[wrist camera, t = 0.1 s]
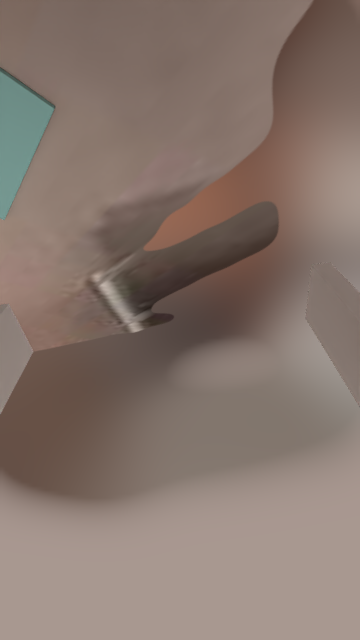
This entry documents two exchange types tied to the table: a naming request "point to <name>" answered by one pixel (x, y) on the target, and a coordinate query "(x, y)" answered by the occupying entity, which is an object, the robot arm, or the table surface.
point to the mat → (18, 134)
